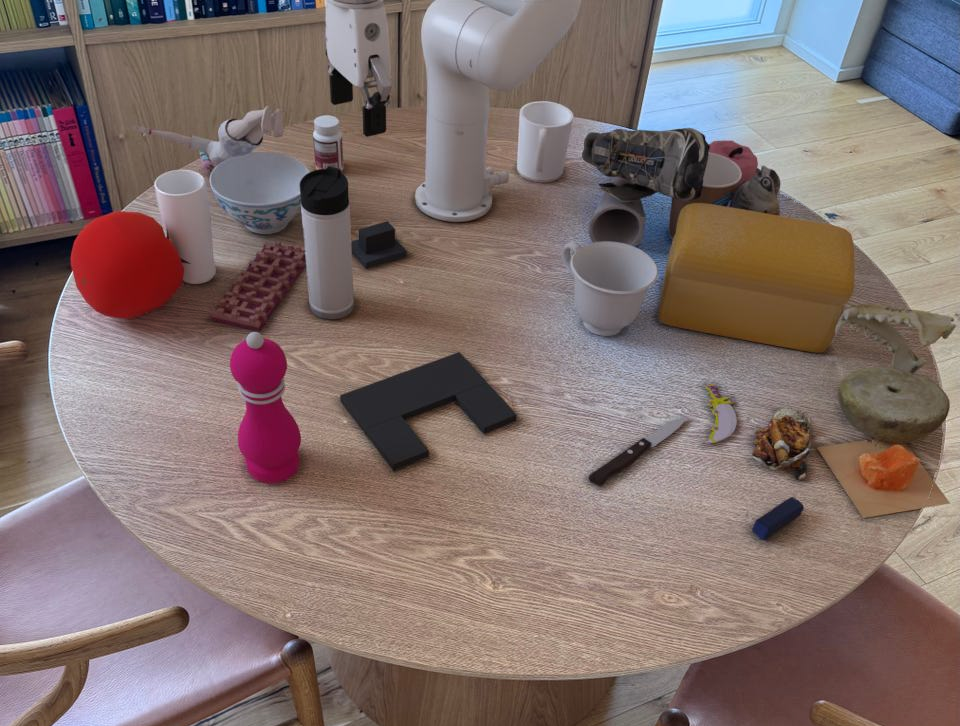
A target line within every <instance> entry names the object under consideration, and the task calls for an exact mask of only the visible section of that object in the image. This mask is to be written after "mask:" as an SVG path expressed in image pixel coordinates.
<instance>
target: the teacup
mask: <svg viewBox="0 0 960 726" xmlns="http://www.w3.org/2000/svg"><path fill="white" fill-rule="evenodd" d="M571 251H573V254H572V255H571ZM561 259H562V263H563V265H564V266H565V269H566V270H567V271H568V273H569V274H570V275H571V276H572V277H573V278H574V290H573V291H574V295H573V296H574V297H573V299H574V306H575V310H576V313H577V315H578V316H579V318H580V319H581V320H582V323H583V326H584V327H585V329H586V330H587V331H588V332H590V333H591V334H594V335H596V336H599V337H600V336H601V337H612V336H615V335H618V334H619V333H621V331H622V330H623V329H624V328H625V327H628V326H629V325H630V324H631V323H632V322H633V321H634V320H635V319H636V318H637V316H638V314H639V313H640V310H641V308H642V306H643V303H644V300H645V298H646V295H647V292H648V290H649V288H650V287H652V286H653V285H654V284H655V283H656V282H657V280H658V277H659V268H658V266H657V264H656V263H655V261H654V259H652V257H651V256H650V255H648V254H647V253H646V252H645V251H644V250H642V249H640V248H638V247H636V246H634V247H633V246H631V245H627V244H624V243H618V242H608V241H604V242H595V243H593V242H592V243H589V244H586V245H584V246H582V245H581V244H580V243H579V242H577V241H575V240H571V241H568V242H567V243H566V244H564V246H563V248H562V252H561Z"/></svg>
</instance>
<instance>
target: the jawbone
mask: <svg viewBox="0 0 960 726" xmlns="http://www.w3.org/2000/svg"><path fill="white" fill-rule="evenodd" d="M952 322H955V318H954V317H952V316H949V315H945V314H944V315H943V314H939V313H933V312H930V311H927V310H918V309H910V308H903V307H895V306H882V305H875V304H866V303H863V304H858V305H851V306H849V307H848V308H846V309H844V310H843V314H842V315H841V317H840V318H839V321H838V324H837V325H836V329H835V335H837V334H838V332H839V331H840V329H841V328H842V327H843V326H845V325H849V326H850V327H849V328H850V329H853V328H856V333H857V334H858V333H860V332H861V331H864V333H865V338H866V339H870V338H871V337H872V336H873V340H874V341H875V342H876V347H878V348H880V347H882V346H884V348H885V349H887V350H888V351H889V352H892V359H891V364H890V367H892V368H897V369H901V370H904V371H907V372H910V373H912V374H915V373H916V372H917V371H918V370H919V369H920V368H922V367H923V366H924V365H925V363H926V359H925V358H924V357H922V358H920V357H918V355H917V354H916V352H914V350H913V349H912V348H911V347H910V345H909V343H908V342H907V340H906V339H905V337H903V335H902V334H901V333H900V331H899V330H898V329H897V328H896V327H895V326H894V325H893V324H897V325H901V326H906V327H908V328H909V329H910V330H912V329H917V331H918V336H919V337H918V338H919V342H920V345H921V346H922V347H930V346H931V345H933V344H936V342H937V341H938V340H940V339H941V338H942V339H944V340H947V339H948V338H949V336H950V335H951V334H952V333H953V332H954V330H955V328H956V327H957V324H955V323H952ZM892 323H893V324H892Z"/></svg>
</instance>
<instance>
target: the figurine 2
mask: <svg viewBox="0 0 960 726" xmlns="http://www.w3.org/2000/svg"><path fill="white" fill-rule="evenodd" d="M780 190H781V179H780V176H779V175H778V173H777V172H776V170H774V169H772V168H768V167H767V166H766V165H761V167H760V168H759V167H757V168H756V174H755V176H754V177H753V178H752V179H751V181H750V180H749V181H744V182H742V183H741V184H739V185H738V186H737V187H736V189H735V190H734V192H733V194H732V197H731V200H730V201H729V207H732V208H737V209H743V210H749V211H755V212H761V213H766V214H772V215H778V216H781V210H780V202H779V199H778V195H779V192H780Z"/></svg>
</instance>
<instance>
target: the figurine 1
mask: <svg viewBox="0 0 960 726" xmlns="http://www.w3.org/2000/svg"><path fill="white" fill-rule="evenodd" d="M284 125H285V124H284V114H283V111H282V109H281V108H277V109H276V110H275V111H274V112H273V110H272V107H271V106H270V105H265V107H264V109H255V110H254V109H253V110H250V111H248V112H247V113H246V114H245V116H244V117H243V118H242V119H238V118H230V119H227V120H224V121H223V122H222V123H221V124H220V126H219V128H218V130H217V131H218V132H217V135H218V139H217V140H211V139H207V138H203V137H199V136H196V135H190V136H187V135H183V134H179V133H176V132H172V131H164V130H156V129H155V130H154V129H151V128H150V129H149V128H146V127H144V126H140V125H134V126H132V127H131V129H132V131H134V132H137V133H141V134H142V137H146V136H148V135H152V136H154V137H157V138H161V139H164V140H166V141H170V142H174V143H180V144H183V145H186V146H188V147H189V149H191V150H195V151H198V152H199V157H200V161H201V168H200V169H199V170H198V172H201V171H202V170H204V171H207V173H208V172H209V173H210V174H211V173H212V171H213V170H214V169H215V167H216V166H218V165H219V164H220V163H222V162H223V161H225V160H227V159H229V158H232V157H235V156H242V155H245V154H248V153H256V152H257V151H254V150H256V149H257V148H259V147H260V145H261V144H262V142H263V141H264V140H263V139H264V135H266V136H269V137H271V136H272V137H273V138H276V139H279V138H282V137H283V136H284V131H285V126H284Z"/></svg>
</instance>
